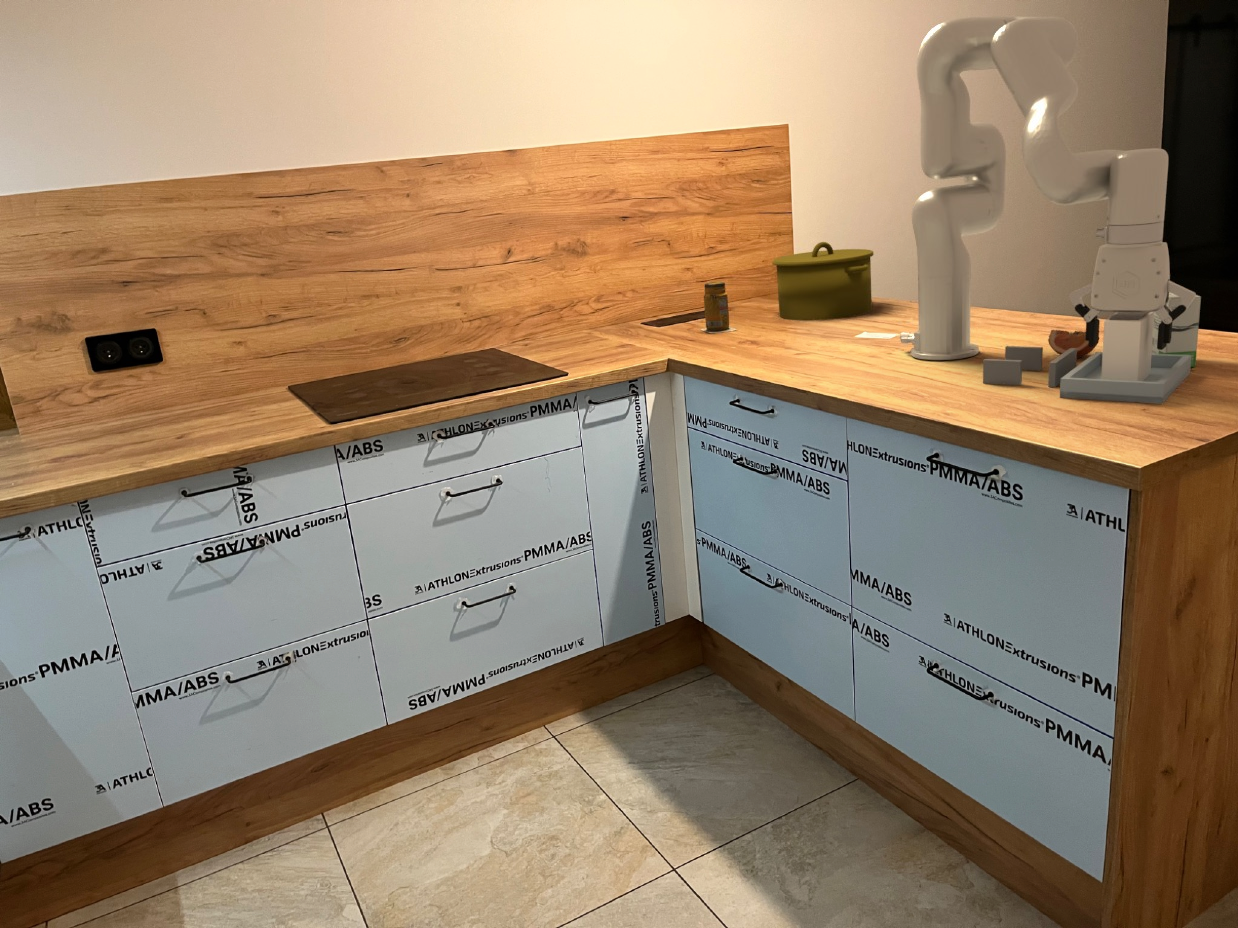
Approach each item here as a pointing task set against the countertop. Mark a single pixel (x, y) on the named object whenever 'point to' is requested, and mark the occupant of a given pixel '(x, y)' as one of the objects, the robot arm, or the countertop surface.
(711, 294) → the condiment
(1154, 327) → the ink box
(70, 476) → the countertop surface
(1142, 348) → the grey-panelled white block
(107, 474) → the countertop surface
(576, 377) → the countertop surface
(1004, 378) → the dock
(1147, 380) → the tray
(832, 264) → the cooking pot
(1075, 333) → the fruit slice
